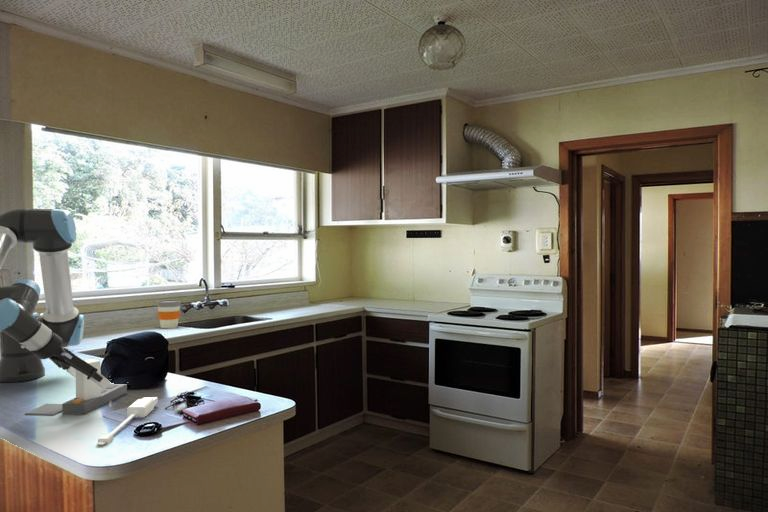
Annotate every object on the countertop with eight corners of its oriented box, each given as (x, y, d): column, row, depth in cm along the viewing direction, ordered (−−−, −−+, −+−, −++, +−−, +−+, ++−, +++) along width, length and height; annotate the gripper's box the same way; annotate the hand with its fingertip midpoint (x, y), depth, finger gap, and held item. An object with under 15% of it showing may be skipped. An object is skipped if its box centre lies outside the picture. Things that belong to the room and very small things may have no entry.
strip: (120, 385, 188) (120, 375, 188) (139, 386, 188) (139, 375, 187) (62, 413, 158) (62, 401, 158) (85, 414, 158) (84, 402, 158)
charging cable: (89, 451, 134) (89, 437, 134) (142, 405, 166) (142, 394, 166) (110, 450, 134) (110, 437, 134) (159, 404, 167) (158, 394, 166)
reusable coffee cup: (176, 324, 317) (176, 299, 316) (184, 327, 307) (183, 301, 307) (154, 326, 309) (153, 300, 308) (161, 329, 299) (161, 302, 299)
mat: (46, 404, 167) (46, 403, 167) (74, 405, 166) (74, 404, 166) (24, 414, 158) (24, 413, 158) (54, 415, 157) (54, 414, 157)
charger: (75, 397, 164) (75, 361, 164) (92, 393, 168) (92, 358, 168) (84, 400, 161) (83, 364, 161) (101, 396, 166) (100, 360, 165)
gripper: (12, 346, 159) (67, 386, 172) (52, 358, 145) (108, 399, 158) (32, 326, 163) (84, 366, 176) (72, 335, 149) (126, 377, 162)
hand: (96, 382), depth 167 cm, fingers open, 12 cm apart
